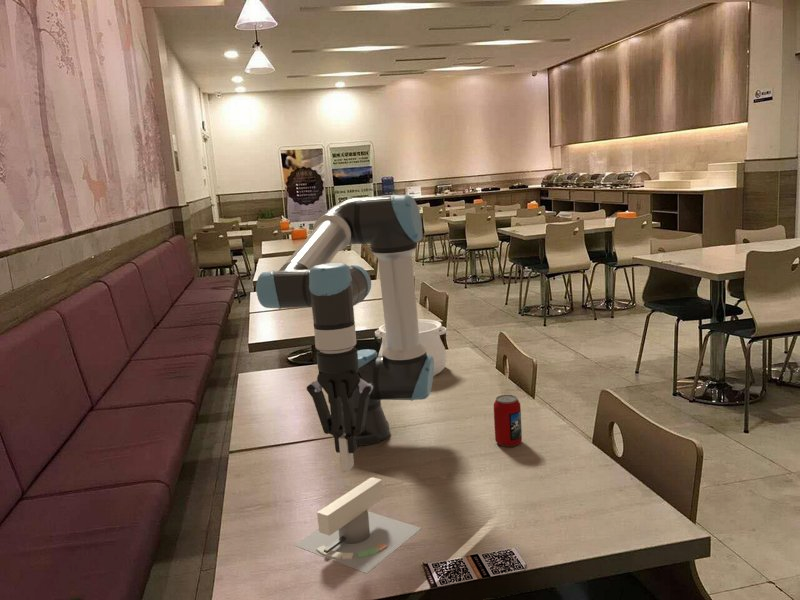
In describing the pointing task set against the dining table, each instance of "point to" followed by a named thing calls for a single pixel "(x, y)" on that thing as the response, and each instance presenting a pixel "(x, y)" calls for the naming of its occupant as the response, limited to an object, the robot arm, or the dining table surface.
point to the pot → (425, 341)
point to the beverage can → (507, 420)
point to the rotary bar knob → (350, 513)
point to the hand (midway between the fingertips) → (347, 467)
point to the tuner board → (362, 543)
